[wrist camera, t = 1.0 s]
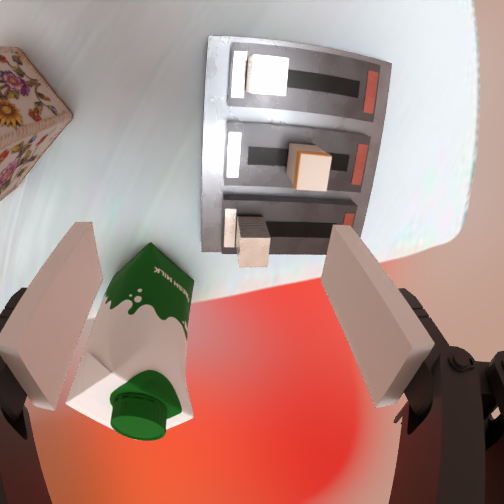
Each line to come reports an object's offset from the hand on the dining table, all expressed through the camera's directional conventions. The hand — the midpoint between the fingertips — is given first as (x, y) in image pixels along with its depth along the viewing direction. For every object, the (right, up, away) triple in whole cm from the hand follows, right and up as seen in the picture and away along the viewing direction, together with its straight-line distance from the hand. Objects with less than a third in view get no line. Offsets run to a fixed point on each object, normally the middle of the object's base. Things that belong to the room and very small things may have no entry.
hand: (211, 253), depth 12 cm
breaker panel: (+5, +10, +18) cm, 21 cm away
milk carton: (-10, -3, +24) cm, 26 cm away
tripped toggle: (+6, +8, +14) cm, 17 cm away
